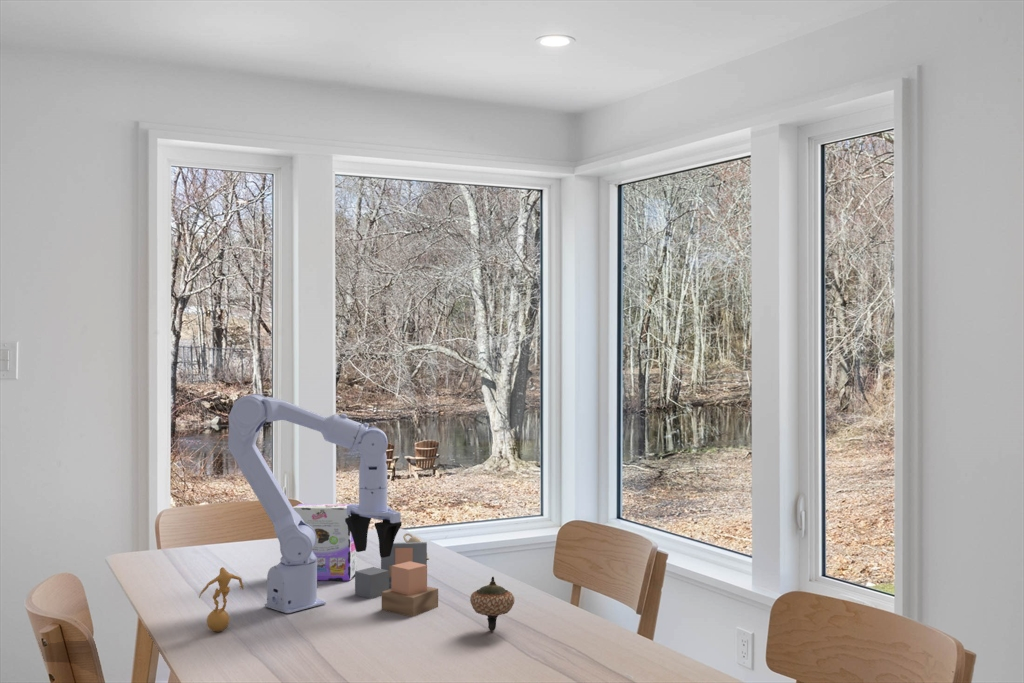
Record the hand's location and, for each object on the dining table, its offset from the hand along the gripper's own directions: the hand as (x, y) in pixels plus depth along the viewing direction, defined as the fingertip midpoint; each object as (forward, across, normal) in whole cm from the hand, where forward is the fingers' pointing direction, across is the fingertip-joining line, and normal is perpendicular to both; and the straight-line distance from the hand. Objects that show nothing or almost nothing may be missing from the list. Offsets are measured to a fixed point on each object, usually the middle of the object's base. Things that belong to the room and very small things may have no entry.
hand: (373, 553), depth 183 cm
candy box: (+10, +24, -6) cm, 27 cm away
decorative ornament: (+10, +23, -34) cm, 42 cm away
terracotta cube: (+6, -9, -2) cm, 11 cm away
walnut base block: (+10, -9, -2) cm, 14 cm away
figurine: (+10, +6, +31) cm, 33 cm away
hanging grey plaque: (+10, +6, -14) cm, 18 cm away
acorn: (+10, -31, -2) cm, 33 cm away
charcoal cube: (+10, +5, -4) cm, 12 cm away
